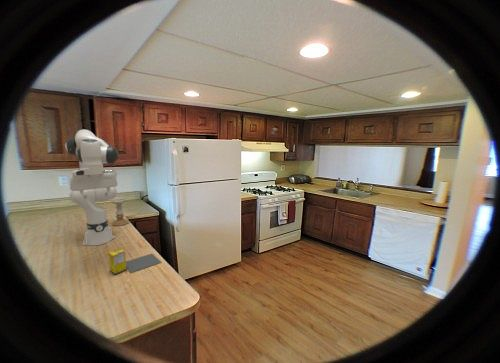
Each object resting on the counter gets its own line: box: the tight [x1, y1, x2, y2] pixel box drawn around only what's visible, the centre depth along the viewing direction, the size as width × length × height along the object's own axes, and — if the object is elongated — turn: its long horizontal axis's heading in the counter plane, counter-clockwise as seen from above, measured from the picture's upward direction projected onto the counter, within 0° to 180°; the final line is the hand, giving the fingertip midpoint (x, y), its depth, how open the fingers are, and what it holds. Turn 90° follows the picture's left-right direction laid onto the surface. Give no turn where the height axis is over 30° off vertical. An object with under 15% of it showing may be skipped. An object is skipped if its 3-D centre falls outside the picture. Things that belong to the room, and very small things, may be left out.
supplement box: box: [108, 248, 127, 276], centre depth 117 cm, size 6×6×11 cm
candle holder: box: [110, 199, 129, 227], centre depth 187 cm, size 12×12×20 cm
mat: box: [126, 253, 162, 274], centre depth 126 cm, size 14×16×1 cm
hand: (96, 197), depth 117 cm, fingers open, 8 cm apart
